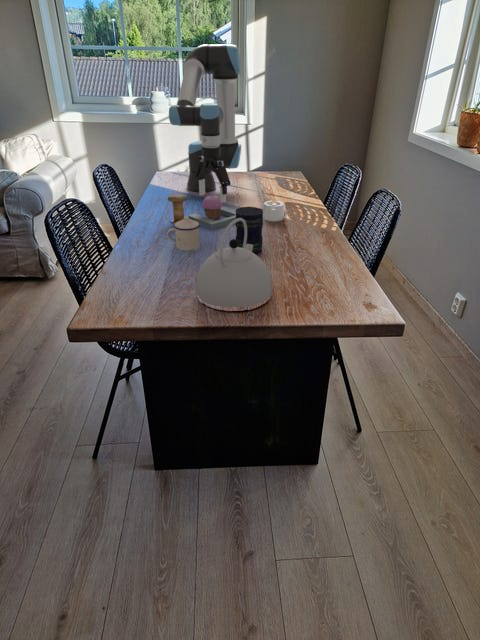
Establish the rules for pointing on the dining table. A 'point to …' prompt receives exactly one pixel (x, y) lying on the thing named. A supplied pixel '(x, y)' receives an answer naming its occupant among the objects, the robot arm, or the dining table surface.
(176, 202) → the bobbin
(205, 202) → the cupcake
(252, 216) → the storage jar
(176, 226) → the teacup with lid
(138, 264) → the dining table surface
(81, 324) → the dining table surface
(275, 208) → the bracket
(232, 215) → the notched board
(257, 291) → the kettle
